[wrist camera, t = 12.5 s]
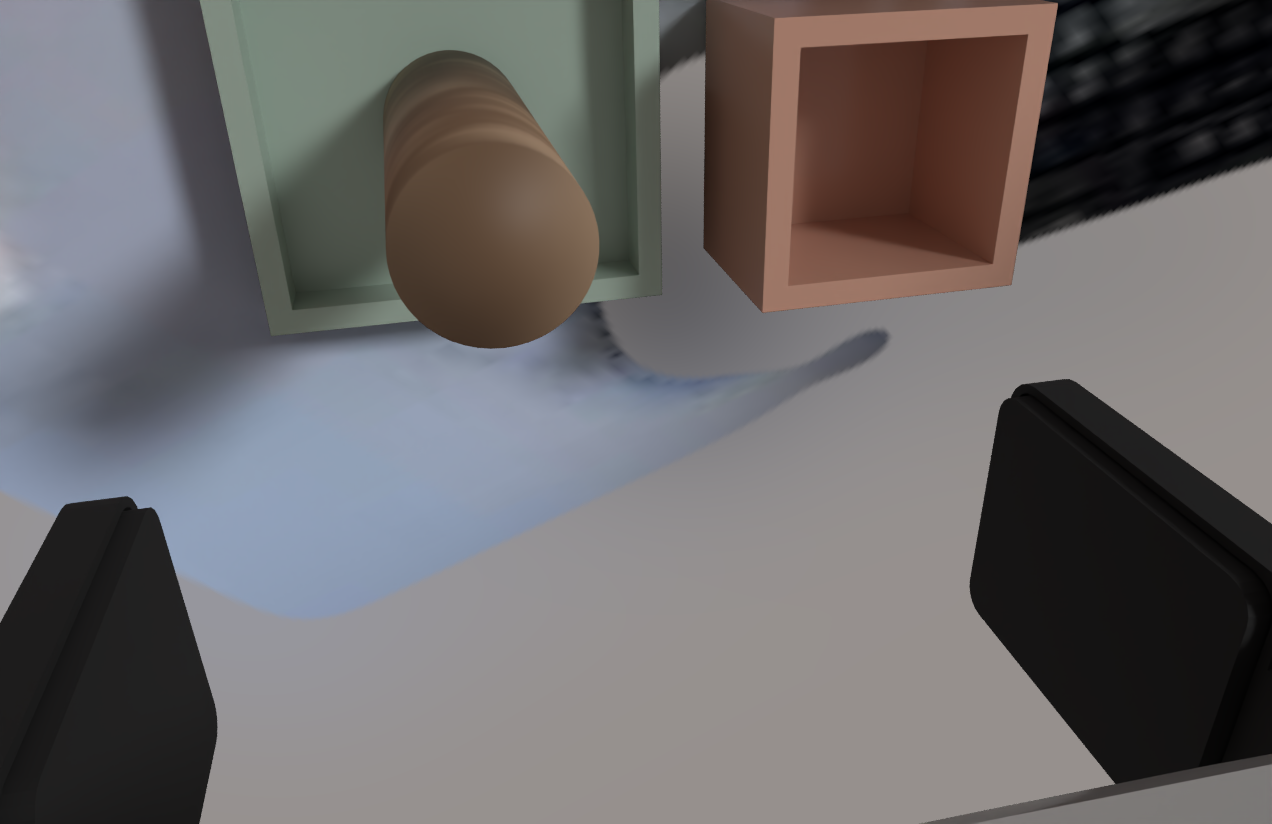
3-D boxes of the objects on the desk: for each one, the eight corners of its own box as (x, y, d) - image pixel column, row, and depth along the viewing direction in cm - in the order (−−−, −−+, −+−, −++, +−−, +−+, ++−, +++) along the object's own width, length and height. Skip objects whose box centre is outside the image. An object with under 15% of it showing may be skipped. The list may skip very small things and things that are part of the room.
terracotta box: (946, -16, 34) (1058, 3, 28) (918, 227, 38) (1011, 285, 32) (706, -5, 32) (774, 17, 27) (703, 247, 36) (762, 312, 31)
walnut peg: (516, 46, 31) (595, 136, 20) (527, 184, 33) (603, 336, 22) (373, 54, 30) (370, 152, 19) (393, 195, 32) (400, 359, 21)
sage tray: (639, -95, 31) (658, -94, 29) (645, 272, 36) (661, 294, 34) (197, -82, 28) (182, -80, 26) (277, 308, 34) (271, 335, 32)
